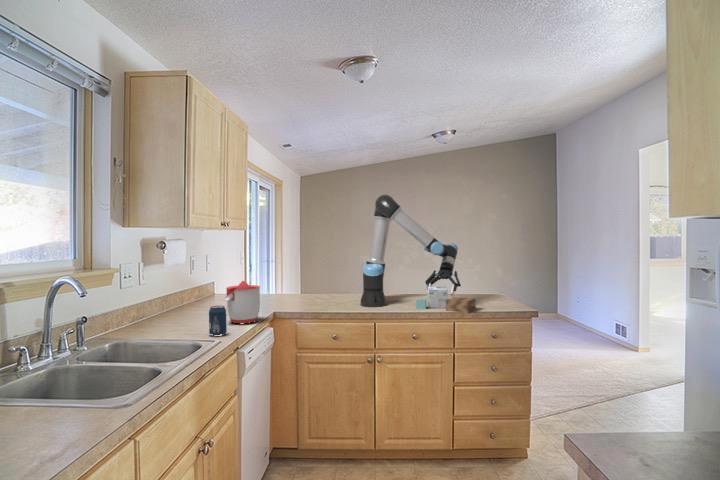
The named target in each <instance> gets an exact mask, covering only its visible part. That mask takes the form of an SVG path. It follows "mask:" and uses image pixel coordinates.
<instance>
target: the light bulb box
mask: <svg viewBox="0 0 720 480" xmlns="http://www.w3.org/2000/svg"><path fill="white" fill-rule="evenodd" d="M427 291H428V294H427V306H428V309H446V300H447V299H449V297H448V288H447V286H432V287H428V290H427Z"/></svg>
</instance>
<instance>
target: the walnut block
mask: <svg viewBox="0 0 720 480" xmlns="http://www.w3.org/2000/svg"><path fill="white" fill-rule="evenodd" d="M476 299H477V298H473V297H472V298H471V297H462V296H461V297H459V296H453V297H451V298H448V299H447V300H446V308H445V311H446V312H458V313H465V314H466V313H468V314H469V313H470V312H473V311H474V310H475V311H476V310H477V309H476V308H477V304H476V302H477V301H476Z"/></svg>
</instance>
